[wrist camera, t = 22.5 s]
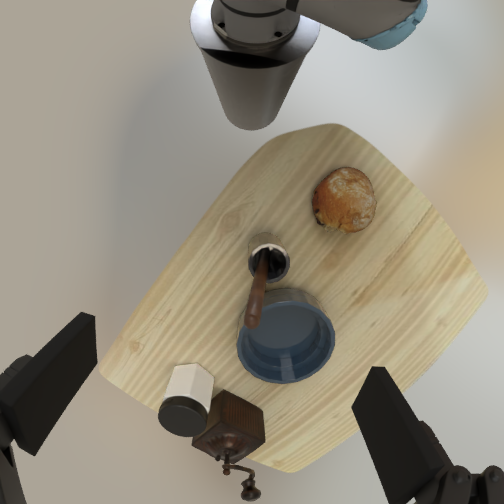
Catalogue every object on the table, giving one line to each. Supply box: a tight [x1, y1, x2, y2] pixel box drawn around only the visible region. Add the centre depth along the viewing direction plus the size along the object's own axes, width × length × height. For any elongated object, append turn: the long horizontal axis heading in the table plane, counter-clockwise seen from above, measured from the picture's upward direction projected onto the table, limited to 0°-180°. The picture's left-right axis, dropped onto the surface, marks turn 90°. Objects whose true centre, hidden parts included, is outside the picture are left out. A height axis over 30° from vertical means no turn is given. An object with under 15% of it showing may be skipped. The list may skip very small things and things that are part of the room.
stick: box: [243, 248, 271, 329], centre depth 37 cm, size 2×2×20 cm
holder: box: [248, 232, 290, 283], centre depth 43 cm, size 5×6×8 cm
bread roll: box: [312, 167, 377, 234], centre depth 43 cm, size 10×10×8 cm
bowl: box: [237, 288, 335, 384], centre depth 47 cm, size 15×15×6 cm
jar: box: [158, 363, 214, 437], centre depth 47 cm, size 9×8×12 cm
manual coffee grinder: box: [192, 389, 265, 501], centre depth 47 cm, size 16×11×18 cm
